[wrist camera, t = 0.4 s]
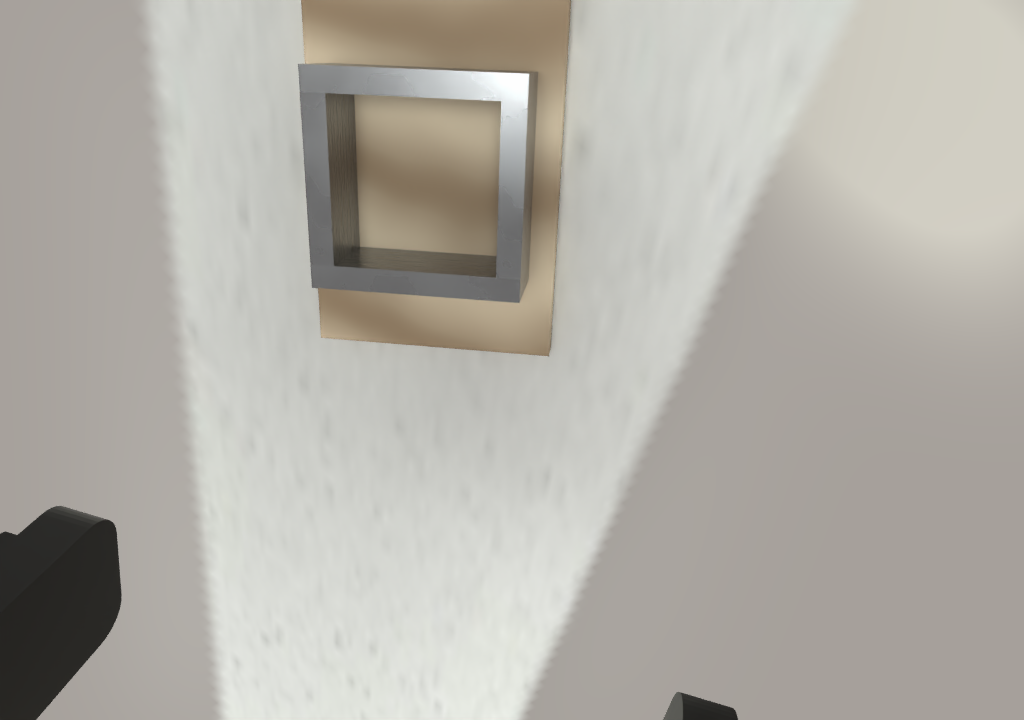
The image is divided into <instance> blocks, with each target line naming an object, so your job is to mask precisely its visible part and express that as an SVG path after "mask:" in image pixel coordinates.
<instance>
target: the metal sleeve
mask: <svg viewBox="0 0 1024 720" xmlns="http://www.w3.org/2000/svg"><path fill="white" fill-rule="evenodd" d="M298 69H299V85H300V101H301V117H302V133H303V149H304V166H305V182H306V198H307V214H308V230H309V246H310V262H311V278H312V288H324V289H337V290H351V291H364V292H378V293H391V294H405V295H418V296H432V297H445V298H459V299H472V300H485V301H499V302H512V303H520V300H521V298H522V295H523V293H524V290H525V288H526V285H527V283H528V280H529V263H530V241H531V220H532V198H533V177H534V155H535V133H536V112H537V90H538V72H532V71H509V70H485V69H461V68H438V67H414V66H391V65H367V64H343V63H313V64H298ZM354 94H356V95H378V96H399V97H420V98H442V99H463V100H485V101H501V127H500V161H499V194H498V228H497V256H489V255H474V254H460V253H445V252H430V251H416V250H401V249H386V248H371V247H360V234H359V207H358V181H357V154H356V127H355V100H354Z"/></svg>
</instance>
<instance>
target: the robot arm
mask: <svg viewBox="0 0 1024 720" xmlns="http://www.w3.org/2000/svg"><path fill="white" fill-rule="evenodd" d="M120 605H121V584H120V570H119V557H118V544H117V532H116V527H115V525H114V523H113V522H111V521H110V520H106V519H103V518H100V517H96V516H93V515H90V514H87V513H83V512H79V511H77V510H73V509H70V508H66V507H63V506H56V507H53V508H51V509H49V510H47V511H46V512H44V513H43V514H42V515H40V516H39V517H38V518H37V519H36V520H35V521H33V522H32V523H31V524H30V525H29V526H28V527H26V528H25V529H24V530H23V531H22V532H20V534H18V535H15V534H12V533H8V532H3V533H1V534H0V720H36V719H37V718H38V717H39V716H40V714H41V713H42V712H43V711H44V710H45V709H46V707H47V706H48V705H49V704H50V703H51V702H52V701H53V699H54V698H55V697H56V696H57V695H58V694H59V692H60V691H61V690H62V689H63V688H64V686H65V685H66V684H67V683H68V682H69V681H70V680H71V679H72V677H73V676H74V675H75V674H76V673H77V672H78V670H79V669H80V668H81V667H82V666H83V664H84V663H85V662H86V661H87V660H88V659H89V658H90V656H91V655H92V654H93V653H94V652H95V651H96V649H97V648H98V647H99V646H100V645H101V643H102V642H103V641H104V640H105V638H106V637H107V635H108V634H109V632H110V631H111V629H112V627H113V625H114V623H115V621H116V618H117V616H118V613H119V610H120ZM663 720H738V718H737V714H736V711H735V710H734V709H733V708H731V707H728V706H724V705H721V704H717V703H714V702H711V701H707V700H704V699H701V698H697V697H694V696H691V695H687V694H684V693H680V692H677V693H676V694H675V696H674V697H673V699H672V701H671V704H670V706H669V708H668V710H667V712H666V715H665V717H664V719H663Z"/></svg>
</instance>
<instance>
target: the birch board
mask: <svg viewBox="0 0 1024 720" xmlns="http://www.w3.org/2000/svg"><path fill="white" fill-rule="evenodd" d="M301 5H302V22H303V39H304V56H305V64H313V63H343V64H367V65H391V66H414V67H438V68H461V69H485V70H509V71H532V72H538V90H537V112H536V133H535V155H534V177H533V198H532V220H531V241H530V263H529V280H528V283H527V285H526V288H525V290H524V293H523V295H522V298H521V300H520V303H512V302H499V301H485V300H472V299H459V298H445V297H432V296H418V295H405V294H391V293H378V292H364V291H351V290H337V289H324V288H318V293H319V310H320V327H321V338H332V339H344V340H356V341H369V342H381V343H393V344H406V345H418V346H430V347H443V348H455V349H467V350H480V351H492V352H504V353H517V354H529V355H541V356H549V353H550V348H551V331H552V314H553V297H554V280H555V263H556V246H557V229H558V212H559V195H560V179H561V162H562V145H563V128H564V111H565V94H566V77H567V60H568V43H569V26H570V9H571V0H301ZM354 100H355V127H356V154H357V181H358V207H359V234H360V247H371V248H386V249H401V250H416V251H430V252H445V253H460V254H474V255H489V256H497V228H498V194H499V161H500V127H501V101H485V100H463V99H442V98H420V97H399V96H378V95H356V94H354Z"/></svg>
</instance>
